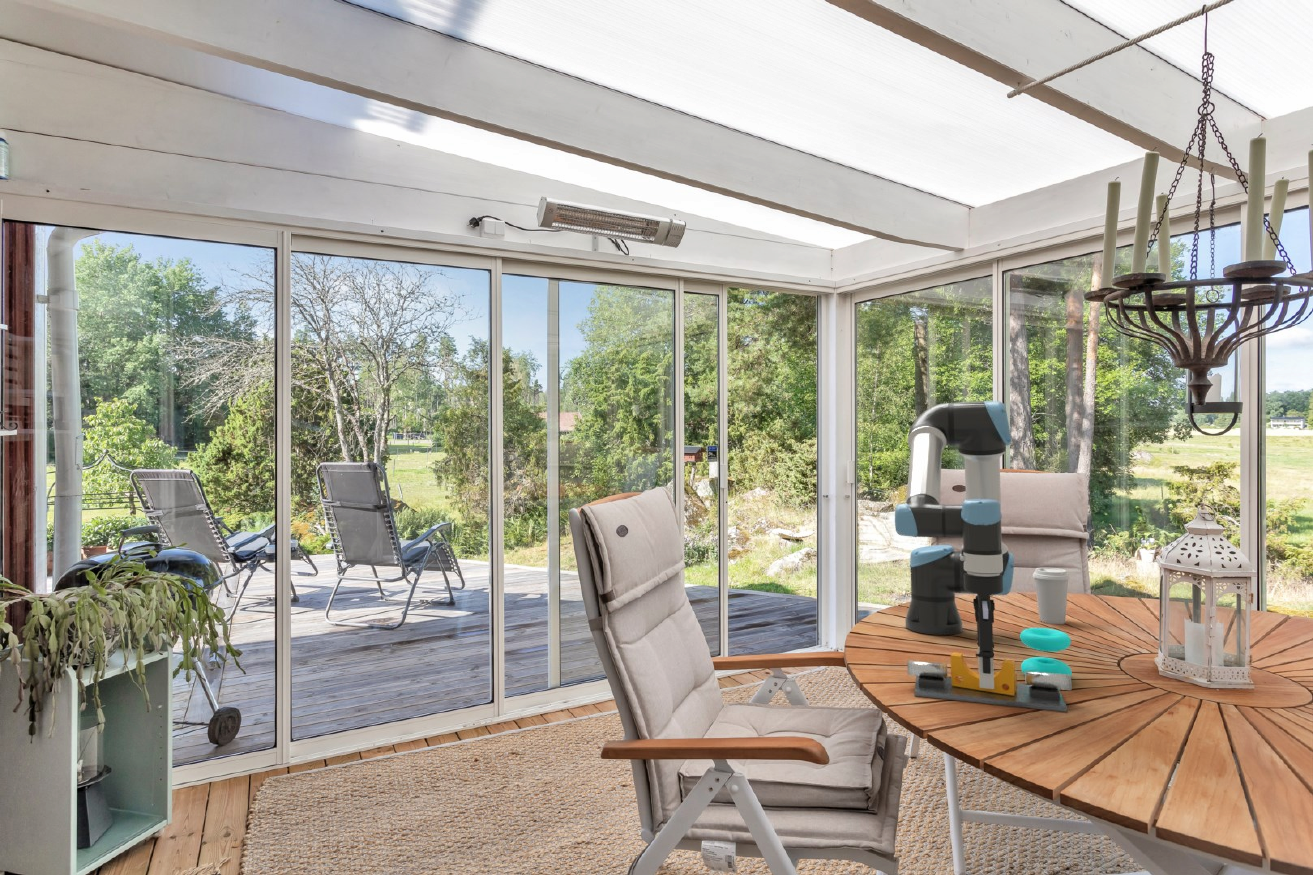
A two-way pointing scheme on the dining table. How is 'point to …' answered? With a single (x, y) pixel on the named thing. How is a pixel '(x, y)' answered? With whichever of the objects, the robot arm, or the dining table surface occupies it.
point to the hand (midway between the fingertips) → (986, 683)
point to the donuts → (1045, 642)
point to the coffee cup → (1051, 594)
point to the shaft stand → (1033, 694)
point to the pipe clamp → (1002, 679)
